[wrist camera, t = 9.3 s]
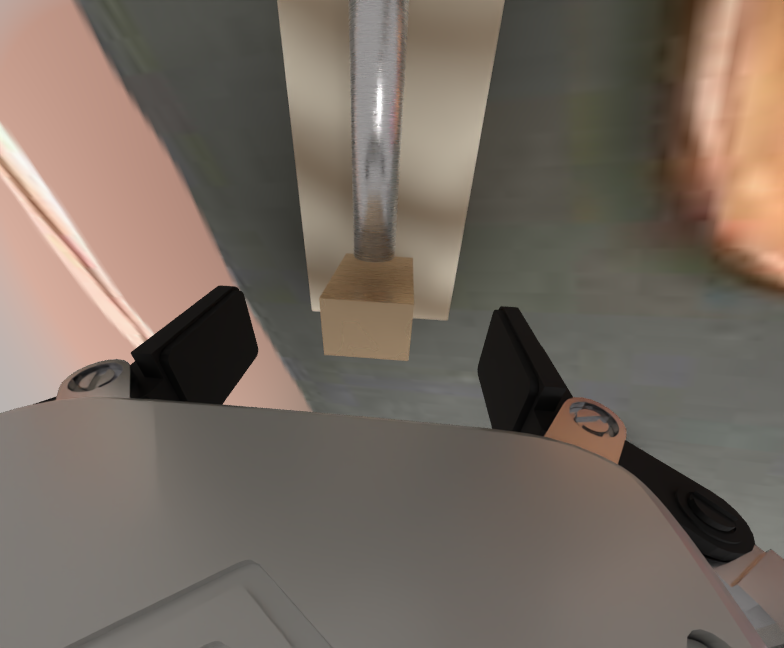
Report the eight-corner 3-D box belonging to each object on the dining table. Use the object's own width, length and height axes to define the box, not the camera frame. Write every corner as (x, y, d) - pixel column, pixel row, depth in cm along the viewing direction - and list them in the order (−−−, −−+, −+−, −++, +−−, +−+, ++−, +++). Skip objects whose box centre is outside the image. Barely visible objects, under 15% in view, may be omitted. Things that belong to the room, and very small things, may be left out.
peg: (333, -102, 10) (257, -349, 5) (445, -98, 10) (480, -343, 5) (347, 298, 19) (324, 354, 14) (408, 302, 19) (408, 360, 14)
